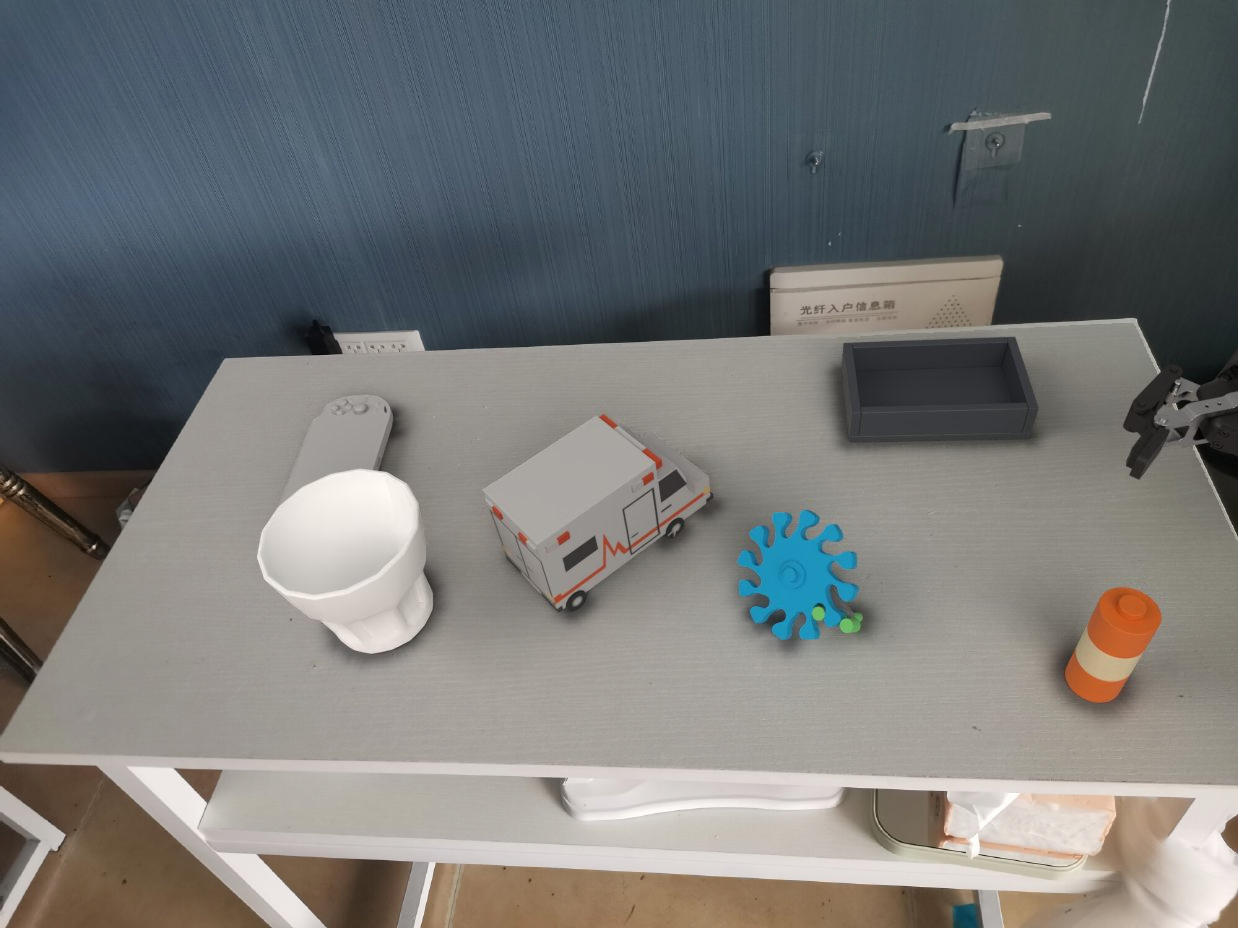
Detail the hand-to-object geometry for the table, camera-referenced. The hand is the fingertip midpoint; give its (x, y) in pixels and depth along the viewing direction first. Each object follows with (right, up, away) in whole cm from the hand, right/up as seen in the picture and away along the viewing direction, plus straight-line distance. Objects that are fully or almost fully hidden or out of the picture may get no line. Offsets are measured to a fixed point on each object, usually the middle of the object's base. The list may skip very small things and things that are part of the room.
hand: (1202, 499), depth 60 cm
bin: (-10, +8, +23) cm, 27 cm away
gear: (-25, -9, +11) cm, 29 cm away
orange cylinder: (-6, -13, +3) cm, 15 cm away
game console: (-66, +1, +27) cm, 72 cm away
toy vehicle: (-40, -4, +18) cm, 44 cm away
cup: (-59, -10, +15) cm, 62 cm away
